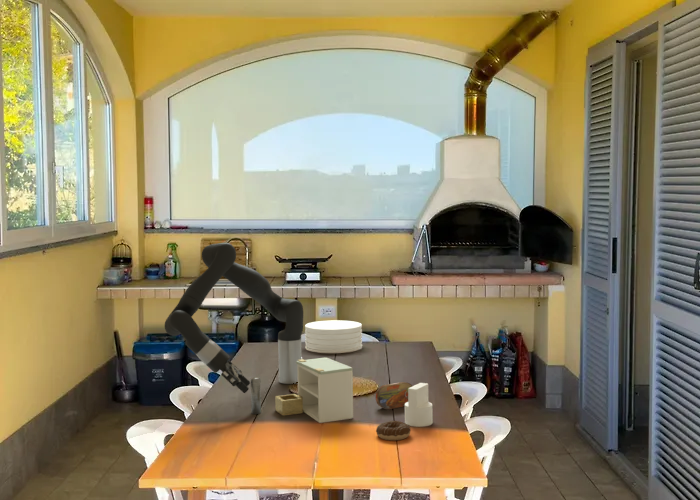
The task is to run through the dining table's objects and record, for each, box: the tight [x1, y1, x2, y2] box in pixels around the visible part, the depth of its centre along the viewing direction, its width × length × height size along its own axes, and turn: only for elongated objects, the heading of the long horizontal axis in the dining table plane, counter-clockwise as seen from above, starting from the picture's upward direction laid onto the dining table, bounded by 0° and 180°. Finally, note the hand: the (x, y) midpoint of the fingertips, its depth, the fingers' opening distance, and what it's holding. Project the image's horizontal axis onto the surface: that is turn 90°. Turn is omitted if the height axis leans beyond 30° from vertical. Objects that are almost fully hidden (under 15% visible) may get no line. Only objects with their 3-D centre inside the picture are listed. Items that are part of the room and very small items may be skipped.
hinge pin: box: [250, 376, 262, 415], centre depth 259 cm, size 3×3×12 cm
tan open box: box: [274, 393, 303, 416], centre depth 260 cm, size 8×7×5 cm
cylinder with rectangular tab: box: [404, 382, 434, 428], centre depth 245 cm, size 9×9×12 cm
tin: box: [375, 381, 413, 410], centre depth 264 cm, size 15×3×8 cm, turn 117°
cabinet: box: [296, 356, 354, 424], centre depth 257 cm, size 13×20×17 cm, turn 25°
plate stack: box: [304, 319, 363, 354], centre depth 373 cm, size 28×28×12 cm
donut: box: [375, 420, 411, 441], centre depth 232 cm, size 11×11×4 cm
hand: (247, 388), depth 259 cm, fingers open, 8 cm apart
